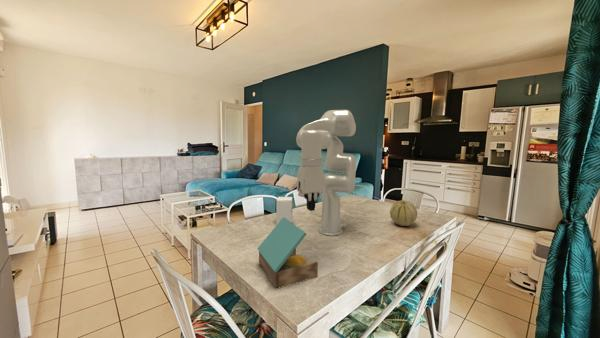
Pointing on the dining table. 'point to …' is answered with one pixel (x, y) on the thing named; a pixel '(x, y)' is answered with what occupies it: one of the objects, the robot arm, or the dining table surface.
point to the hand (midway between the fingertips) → (310, 209)
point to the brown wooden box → (289, 272)
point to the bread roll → (294, 261)
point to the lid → (281, 243)
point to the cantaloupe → (403, 213)
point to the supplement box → (284, 209)
